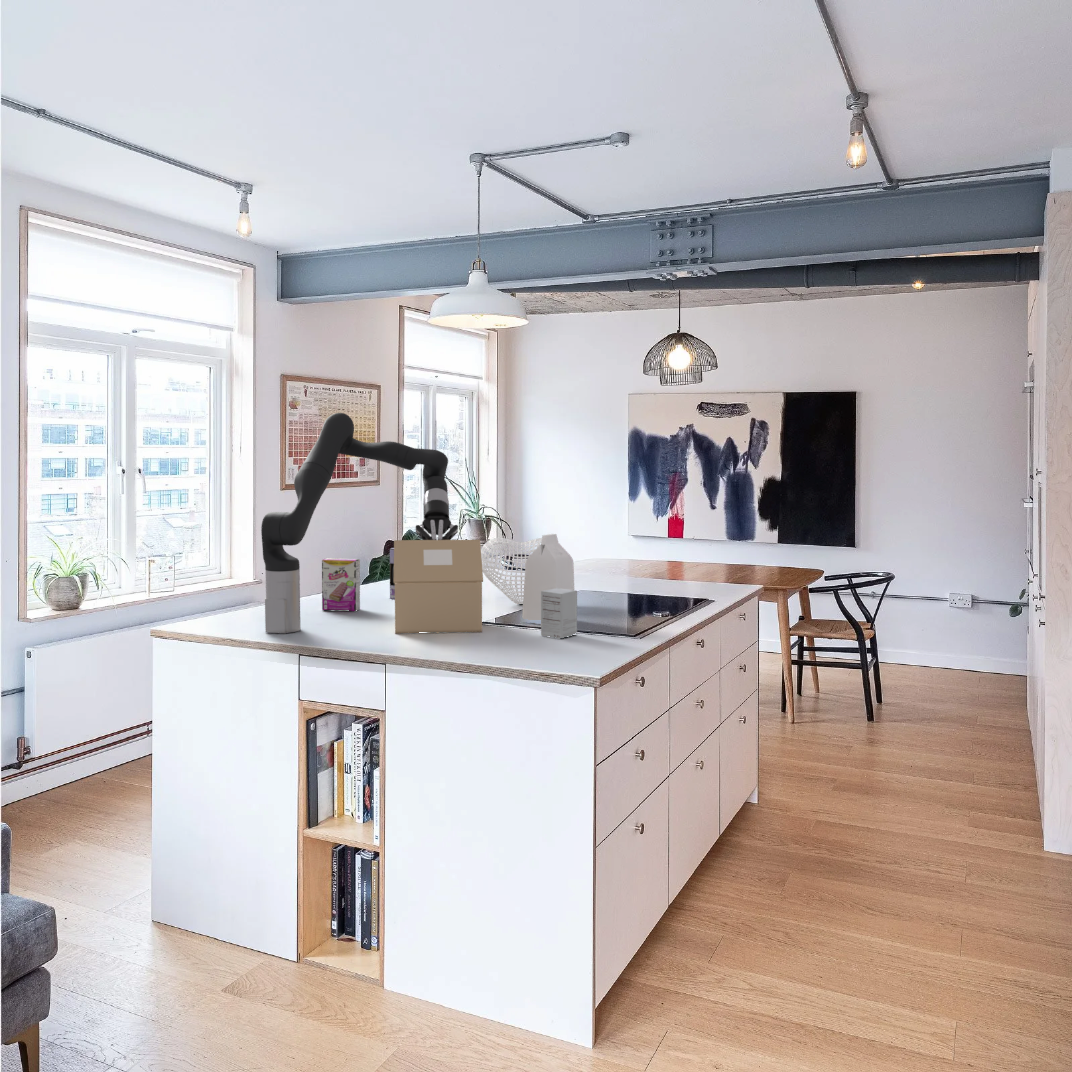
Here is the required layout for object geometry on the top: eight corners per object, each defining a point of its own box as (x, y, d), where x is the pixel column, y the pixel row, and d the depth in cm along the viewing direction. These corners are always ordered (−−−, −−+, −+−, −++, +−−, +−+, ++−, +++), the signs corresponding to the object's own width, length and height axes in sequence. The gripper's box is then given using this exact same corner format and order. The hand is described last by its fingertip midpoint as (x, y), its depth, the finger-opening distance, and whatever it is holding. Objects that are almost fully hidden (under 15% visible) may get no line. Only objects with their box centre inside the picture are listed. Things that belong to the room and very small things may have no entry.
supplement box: (556, 632, 266) (556, 587, 265) (577, 635, 262) (578, 590, 260) (540, 636, 261) (540, 590, 259) (561, 639, 256) (561, 593, 255)
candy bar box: (321, 611, 299) (320, 559, 298) (326, 608, 304) (325, 557, 303) (356, 612, 298) (355, 560, 297) (360, 609, 303) (360, 558, 302)
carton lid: (483, 581, 264) (483, 580, 264) (393, 583, 261) (393, 581, 261) (479, 541, 276) (480, 539, 275) (394, 541, 273) (394, 540, 272)
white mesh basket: (477, 608, 306) (477, 539, 304) (480, 601, 321) (480, 535, 319) (564, 609, 306) (565, 540, 304) (563, 601, 321) (563, 536, 319)
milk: (542, 616, 291) (543, 532, 289) (575, 620, 286) (576, 534, 283) (521, 622, 281) (522, 535, 279) (555, 626, 275) (556, 537, 273)
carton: (482, 632, 266) (482, 582, 264) (395, 633, 263) (394, 583, 261) (478, 622, 281) (478, 575, 280) (396, 623, 278) (395, 576, 277)
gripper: (458, 515, 287) (460, 560, 276) (413, 515, 286) (414, 560, 275) (458, 498, 282) (461, 544, 271) (413, 498, 280) (414, 544, 269)
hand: (437, 552), depth 273 cm, fingers closed
